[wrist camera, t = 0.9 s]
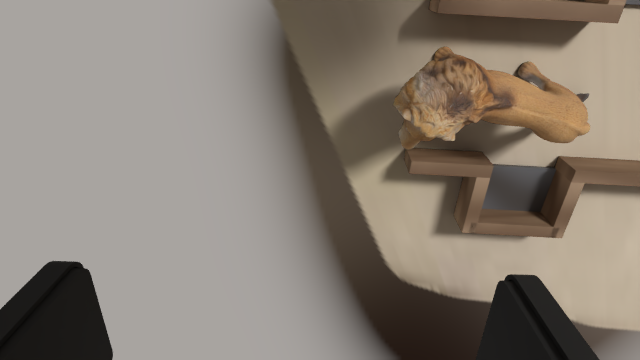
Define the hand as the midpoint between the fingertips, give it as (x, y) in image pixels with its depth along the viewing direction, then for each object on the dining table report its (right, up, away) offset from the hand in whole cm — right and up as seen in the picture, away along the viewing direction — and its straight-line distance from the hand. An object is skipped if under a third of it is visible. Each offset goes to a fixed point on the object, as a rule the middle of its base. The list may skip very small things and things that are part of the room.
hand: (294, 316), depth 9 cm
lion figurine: (+12, +10, +20) cm, 25 cm away
